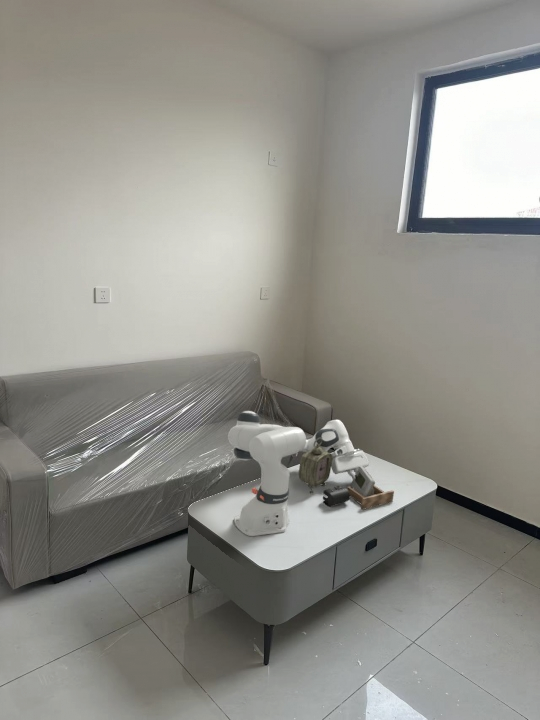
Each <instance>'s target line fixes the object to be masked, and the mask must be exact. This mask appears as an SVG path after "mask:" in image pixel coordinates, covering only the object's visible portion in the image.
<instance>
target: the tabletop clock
mask: <svg viewBox="0 0 540 720" xmlns="http://www.w3.org/2000/svg"><path fill="white" fill-rule="evenodd" d="M319 439H321V443H322V438H317V439H316V440H315V442H314V448H313V449H312V450H310V451H308V452H306V453H305V452H303V454H302V455H301V456H300V460H299V467H298V478H299V480H300V482H302V483H304V484H307V487H310V490H309V493H310V494H311V495H312V494H314V490H313V487H314V488H317V487H319V486H323V487H325V486H326V482H327V481H328V479H329V477H330V474H331V470H332V468H331V462H332V455H331V454H332V453H331V452H328V451H327V452H325V451H323V450H322V449H321V448H320V447H319V446H320V445H321V443H320V444H317V446H315V443H316V441H317V440H319Z"/></svg>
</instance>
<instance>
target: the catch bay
mask: <svg viewBox="0 0 540 720" xmlns="http://www.w3.org/2000/svg"><path fill="white" fill-rule="evenodd" d="M346 489H347V490H348V491H349V493H350V498H351V499H353V500H355V501H356V502H357V503H359V504H360V505H361V506H360V509H361V510H362V509H363V510H366V509H369V508H373V506H374V507H377V506H381V505H385V504H388V503H391V502H393V501H394V494H395V491H394V490H389V491H383V489H381V488H380V487H378V486H376V485H375V484H374V486H373V489H374V495H372V496H368V497H364V496H362V495H361V494H359V493H358V492H356V491H355V490H354V489H353V487H352V486H347V488H346ZM365 508H366V509H365Z"/></svg>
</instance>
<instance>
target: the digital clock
mask: <svg viewBox="0 0 540 720" xmlns="http://www.w3.org/2000/svg"><path fill="white" fill-rule="evenodd" d="M356 475H357V479H355V480H353V479H352V481H351V483H350V487H351V488H352V489H354V490H355V491H356V492H358V493H359V494H361V495H362V496H364V497H368V496H372V495H375V494H374V489H373V486H374V485H375V484H376V482H375V480H374V478H373V476H371V474H370V473H369V471H368V470H367V469H366V467H365V468H364V467H363V466H360V467H359V469H358V471H357V473H356Z"/></svg>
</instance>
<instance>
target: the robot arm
mask: <svg viewBox="0 0 540 720" xmlns="http://www.w3.org/2000/svg"><path fill="white" fill-rule="evenodd" d="M261 423H262V421H261V417H260V415H259V414H258V413H256V412H254V411H252V410H244V411H242V412H239V413H238V415H237V418H236V425H234V426H233V427H231V428H230V430H229V431H228V433H227V434H228V435H227V439H228V442H229V444H230V445H231V446H233V454H234V456H235V457H236V459H239V460H241V461H251V460H253V459H254V460H255V461H256V462H257V463H258V465H259V467H260V471H261V474H260V475H261V477H260V478H261V479H260V486H259V488H258V489H257V488H256V487H253V488H252V489H251V493H253V494H254V495H255V496H254V497H253V498H251V500H249V501H248V502H247V503H245V504H244V505H243V506H242V508H241V511H240V514H238V515H236V516H235V517H234V519H233V522H234V524H235V526H236V527H237V529H238V530H239V531H240V532H241V533H243V534H245V536H249V537H254V536H255V537H256V536H261V535H269V534H270V535H272V534H278V533H284V532H286V530H287V526H288V525H289V523H290V518H289V512H288V510H289V509H288V500H289V497H290V489H289V483H290V471H289V469H288V468H287V466H286V465H284V464H283V463H282V459H283V458H285V457H289V456H292V455H295V454H297V453H299V452H300V453H306V452H308V451H310V450H312V449H313V448H314V442H315V440H316V439H317V438H322V443H321V439H319V440H317V441H316V443H315V446H317V444H320V443H321V445H320V446H319V447H320V448H321V449H322V450H323V451H325V452H328V451H329V450H330V449H331V448H333V449H334V450H333V452H332V453H331V455H332V462H331V470H332V472H333V474H335V475H339V474H342V473H343V474H344V473H347V475H349V476H350V477H351V478H352V480H355V479H357V475H356V473H357V471H358V469H359V467H360V466H363V467H364V468H365V469H366V468H367V467H369V466H370V461H369V460H368V457H367V455H366V454H365V452H364V450H362V449H361V448H357V449H355V447H354V446H353V443H352V441H351V440H350V436H349V433H348V431H347V428H346V427H345V425H344V423H343V422H342V421H341V419H332V420H329V421H327V422H326V424H325V425H324V426H323V427H322V428H321V429H319V430H318V431H317V432H316V433H315V434H314V435H313V436H312V437H311V438H308V439H307V437H306V436H307V435H306V434H305V432H304V430H303V429H302V428H300V427H298V426H282V425H278V424H270V423H262V424H261ZM353 472H354V473H353Z"/></svg>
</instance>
